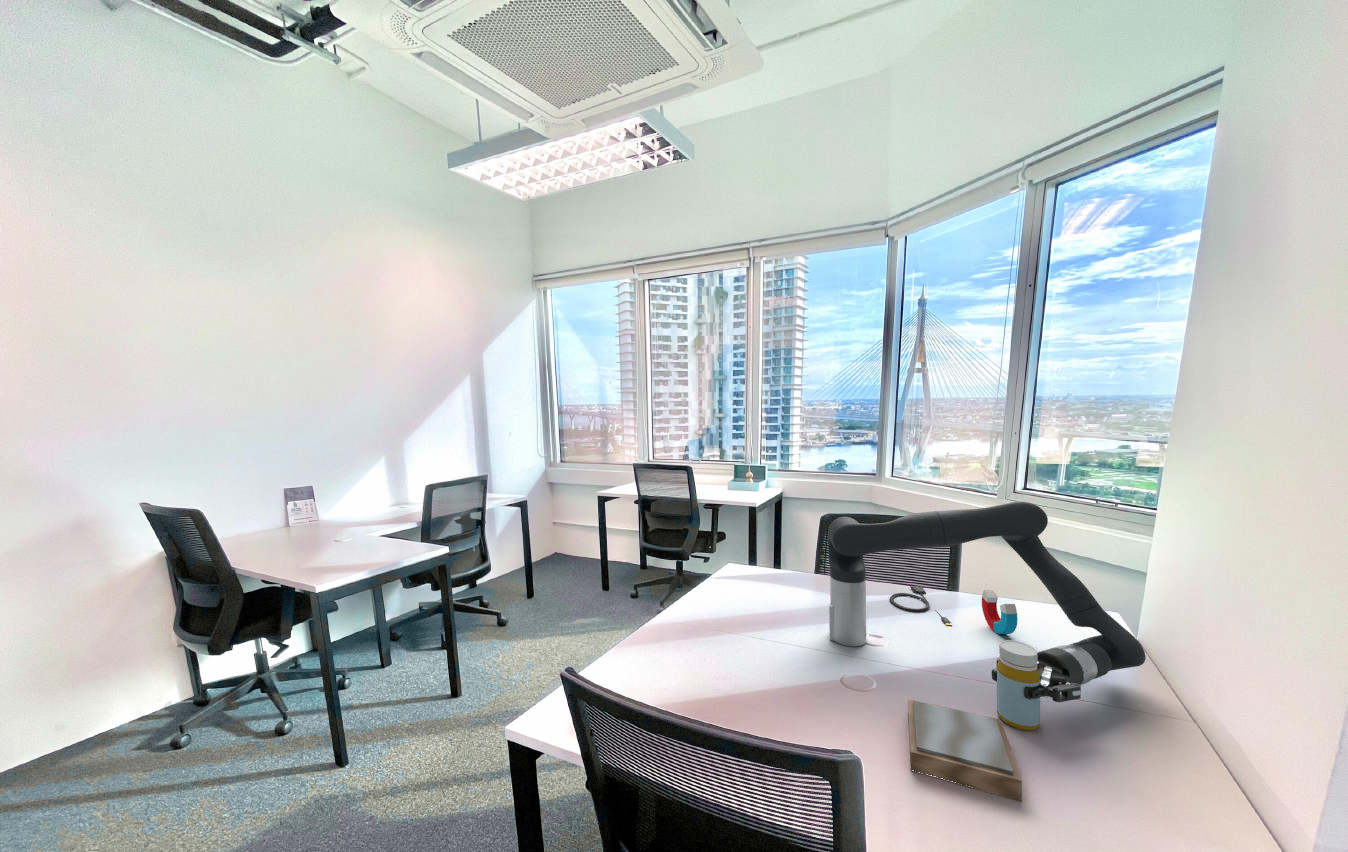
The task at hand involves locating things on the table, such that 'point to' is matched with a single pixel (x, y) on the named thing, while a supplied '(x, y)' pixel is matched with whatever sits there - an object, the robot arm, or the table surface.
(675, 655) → the table surface
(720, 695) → the table surface
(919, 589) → the cable
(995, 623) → the magnet
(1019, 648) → the bottle
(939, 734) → the plinth
